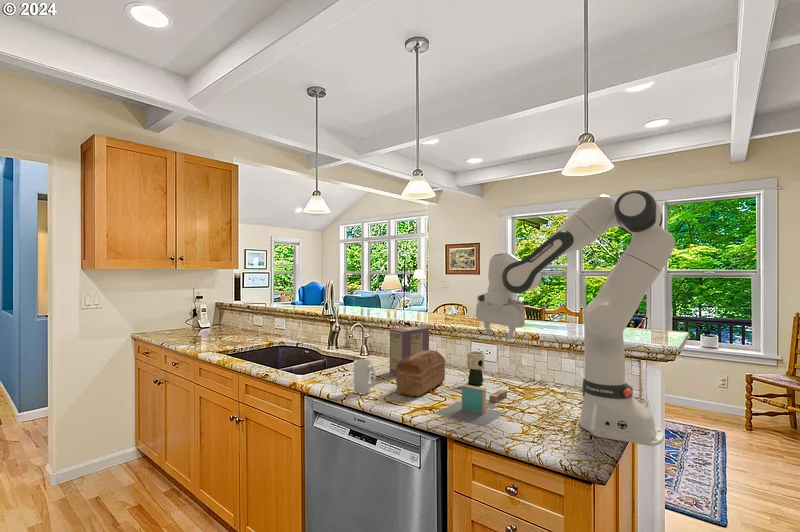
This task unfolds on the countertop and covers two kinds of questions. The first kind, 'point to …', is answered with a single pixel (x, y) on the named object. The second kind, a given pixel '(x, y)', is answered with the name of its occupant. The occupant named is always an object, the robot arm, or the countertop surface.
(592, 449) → the countertop surface
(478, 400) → the block
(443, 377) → the bread
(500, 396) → the turner
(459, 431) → the countertop surface
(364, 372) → the mug
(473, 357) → the character mug
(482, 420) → the gray rectangular plate
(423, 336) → the box
